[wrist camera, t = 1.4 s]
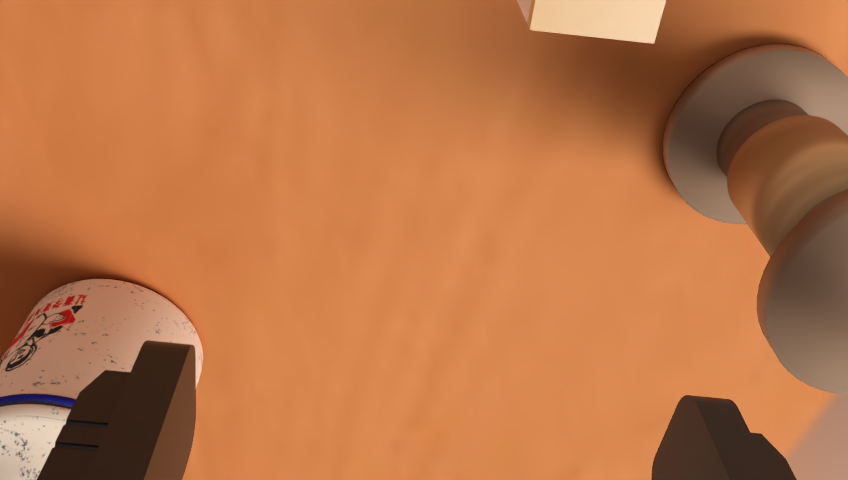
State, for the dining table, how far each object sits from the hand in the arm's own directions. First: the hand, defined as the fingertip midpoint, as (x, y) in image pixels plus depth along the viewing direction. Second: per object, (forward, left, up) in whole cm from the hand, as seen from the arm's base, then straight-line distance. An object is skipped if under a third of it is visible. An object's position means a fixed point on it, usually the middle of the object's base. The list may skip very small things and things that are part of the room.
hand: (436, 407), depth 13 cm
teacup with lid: (+19, -14, -22) cm, 32 cm away
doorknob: (+4, +15, -22) cm, 27 cm away
